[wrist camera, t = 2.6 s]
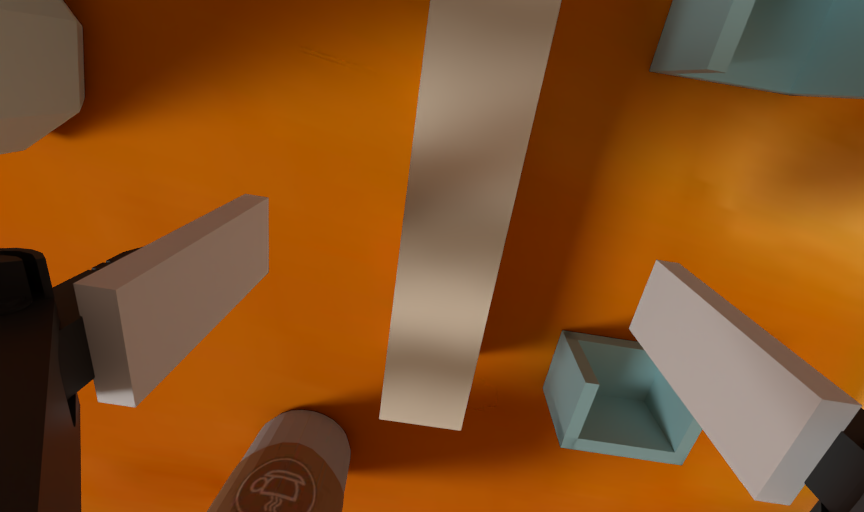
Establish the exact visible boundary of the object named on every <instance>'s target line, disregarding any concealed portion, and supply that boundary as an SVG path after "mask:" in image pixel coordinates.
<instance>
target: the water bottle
mask: <svg viewBox="0 0 864 512" xmlns="http://www.w3.org/2000/svg"><path fill="white" fill-rule="evenodd" d="M84 99H85V88H84V54H83V26H82V25H81V24H80V22H79V21H78V20H77V18H76V17H75V16H74V14H73V13H72V11H71V10H70V9H69V7H68V6H67V5H66V3H65V2H64V1H63V0H0V154H5V153H11V152H17V151H23V150H25V149H27V148H28V147H30V146H31V145H33V144H34V143H35V142H37V141H38V140H40V139H41V138H43V137H44V136H46V135H47V134H48V133H50V132H51V131H53V130H54V129H56V128H57V127H59V126H60V125H62V124H63V123H64V122H66V121H67V120H69V119H70V118H72V117H73V116H75V115H76V114H77V113H79V112H80V110H81V107H82V105H83V102H84Z"/></svg>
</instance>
